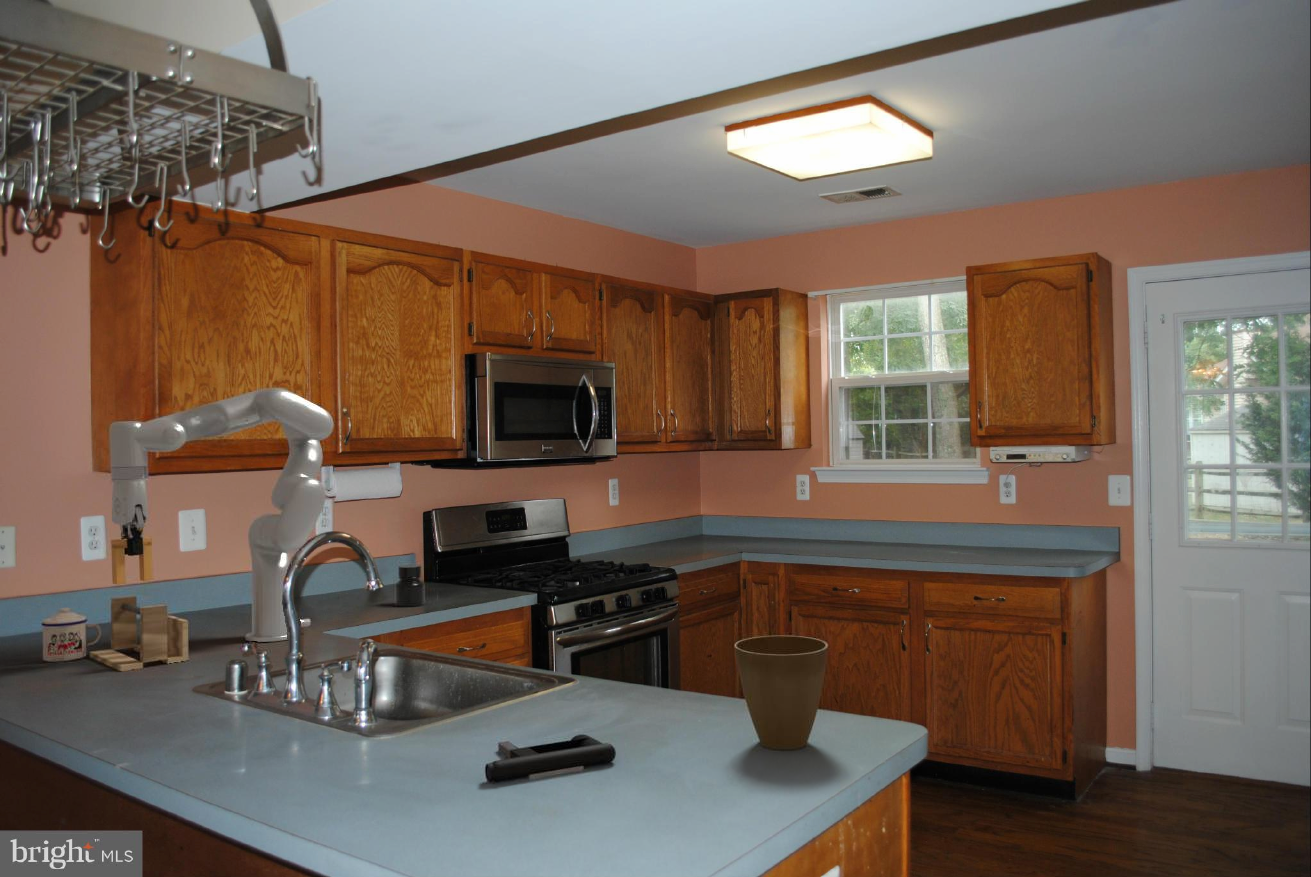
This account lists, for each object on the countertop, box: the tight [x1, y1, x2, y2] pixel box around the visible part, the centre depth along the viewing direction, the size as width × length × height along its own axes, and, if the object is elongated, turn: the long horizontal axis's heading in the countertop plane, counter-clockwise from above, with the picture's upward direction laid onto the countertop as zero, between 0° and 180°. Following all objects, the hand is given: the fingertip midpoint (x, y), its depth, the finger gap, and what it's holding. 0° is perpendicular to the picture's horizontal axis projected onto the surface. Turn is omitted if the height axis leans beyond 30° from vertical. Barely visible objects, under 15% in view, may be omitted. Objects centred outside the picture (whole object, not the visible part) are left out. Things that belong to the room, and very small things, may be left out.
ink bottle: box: [394, 564, 426, 608], centre depth 296 cm, size 10×9×12 cm
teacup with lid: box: [41, 607, 103, 663], centre depth 224 cm, size 12×9×12 cm
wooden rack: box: [89, 595, 189, 672], centre depth 221 cm, size 22×14×13 cm, turn 46°
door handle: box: [484, 733, 617, 783], centre depth 146 cm, size 3×20×16 cm
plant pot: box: [734, 635, 829, 751], centre depth 154 cm, size 15×15×16 cm
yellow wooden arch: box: [110, 536, 154, 585], centre depth 220 cm, size 8×3×10 cm, turn 137°
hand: (132, 553), depth 220 cm, fingers closed on yellow wooden arch, 3 cm apart
